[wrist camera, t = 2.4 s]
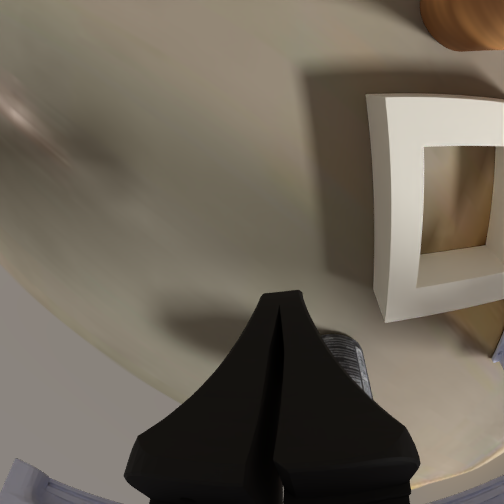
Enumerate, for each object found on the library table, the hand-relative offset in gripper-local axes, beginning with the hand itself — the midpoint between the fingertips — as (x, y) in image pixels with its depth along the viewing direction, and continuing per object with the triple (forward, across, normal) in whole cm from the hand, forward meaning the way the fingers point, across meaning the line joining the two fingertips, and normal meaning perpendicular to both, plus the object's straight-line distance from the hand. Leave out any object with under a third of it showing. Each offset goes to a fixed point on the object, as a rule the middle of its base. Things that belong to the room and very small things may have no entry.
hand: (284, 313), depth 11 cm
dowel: (+9, -12, -12) cm, 19 cm away
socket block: (+9, -11, 0) cm, 14 cm away
